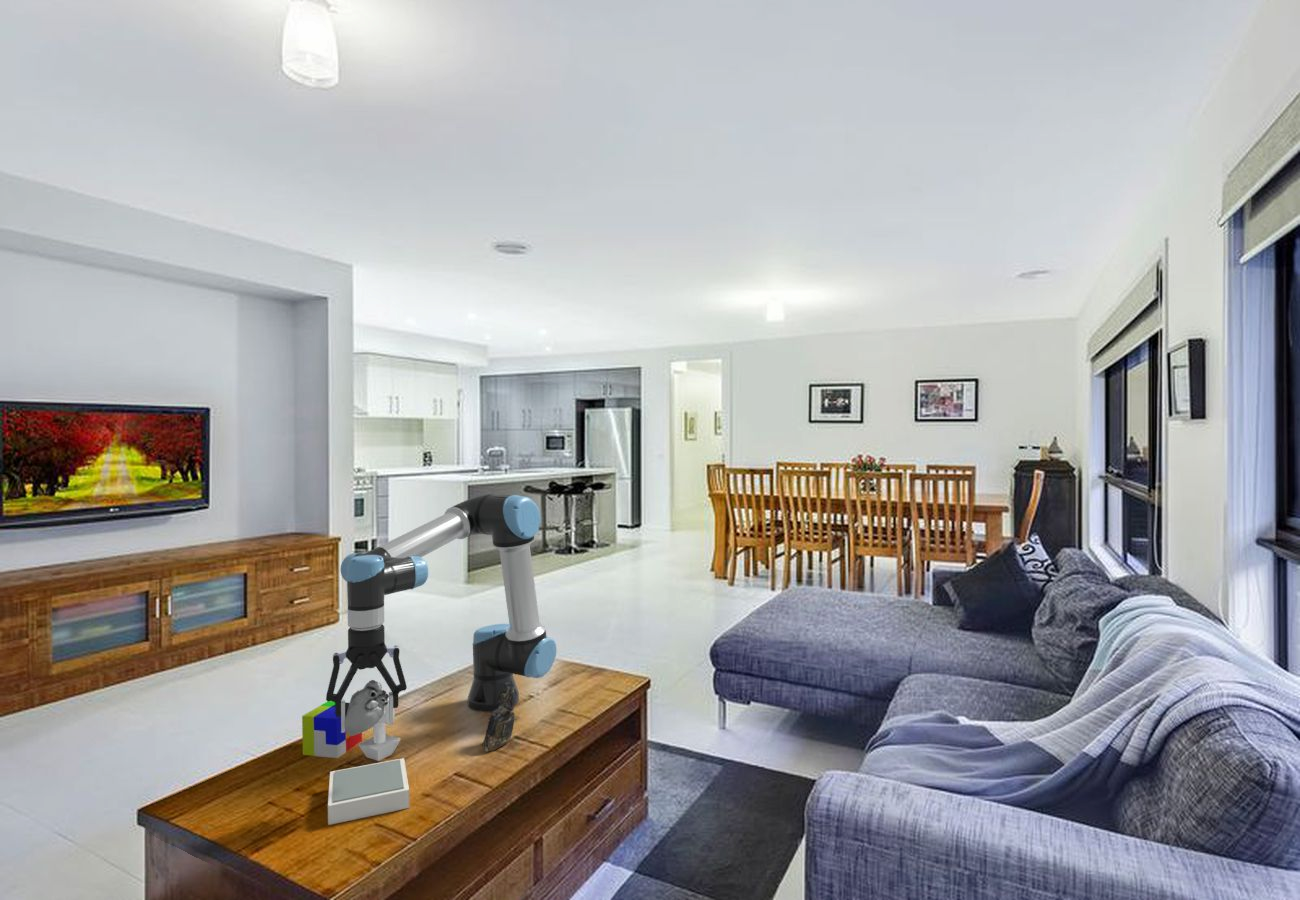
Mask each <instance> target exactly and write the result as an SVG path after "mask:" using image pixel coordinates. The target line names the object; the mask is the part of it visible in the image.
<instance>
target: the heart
mask: <svg viewBox="0 0 1300 900" xmlns="http://www.w3.org/2000/svg"><path fill="white" fill-rule="evenodd" d="M388 702H389V693H387V691H386V690H384V689H383V686H382V684H381V682H378V681H376V680H374V679H371V680H369V681H368V682H366V684H365V685H364V687H363V688H359V689H357V691H355V692H354V693H353V694H352V695H351V697H350V701H349V702H348V703H349V706H348V711H347V715H346V718H345V731H346V732H347V733H348V734H349V735H350V736H354V735H357V734H359V733H362V734H363V733H364V732H366V731H368V730H370V729H372V728H373V726H374V725H375V724H377V723H378V722H379V720H380V719H381V718H382V716H383V714H384V707H385V706H386V705H387V704H388ZM371 727H372V728H371Z"/></svg>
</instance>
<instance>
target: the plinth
mask: <svg viewBox="0 0 1300 900" xmlns="http://www.w3.org/2000/svg"><path fill="white" fill-rule="evenodd" d="M328 785H329V786H328V797H327V824H328V826H330V825H335V824H339V823H345V822H349V821H354V820H359V819H363V818H369V817H372V816H378V815H382V814H386V813H392V812H397V811H402V810H406V809H409V808H410V788H409V781H408V773H407V767H406V761H405V757H403V758H397V759H391V760H386V761H381V762H377V763H369V764H365V765H360V766H353V767H349V768H343V769H337V770H333V771H329V784H328Z"/></svg>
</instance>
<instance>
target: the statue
mask: <svg viewBox="0 0 1300 900" xmlns="http://www.w3.org/2000/svg"><path fill="white" fill-rule="evenodd" d="M514 689H515V688H514V684H513V683H508V682H506V683H505V684H504V687H503V690H501V692H500V694H499V697H498V699H497V702H496V706H499V707H498V708H497V709H495V710H493V711H492V712H490V714H489V717H488V721H487V722H488V723H487V727H486V731H485V736H484V739H483V741H482V746H483V750H484V751H485V752H491V751H495V750H497V749H500V747H503V746H504V745H506V744H507V743H508V742H509V741H510V740H511V737H512V735H513V730H514V723H515V713H514V712H513V711H514V709H515V705H514V703H515V693H514Z"/></svg>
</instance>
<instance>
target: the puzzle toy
mask: <svg viewBox="0 0 1300 900" xmlns="http://www.w3.org/2000/svg"><path fill="white" fill-rule="evenodd" d="M349 703H350V702H346V701H345V718H346V715H347V711H348V706H349ZM301 722H302V724H301V725H302V726H301V727H302V728H301V730H302V732H301V733H302V755H303V756H311V757H312V756H313V757H323V758H331V759H333V758H334V759H338V758H340V757H341V756H343V755H345V754H346V753H347V752H348V751H350V750H351V749H353V748H354V747H355V746H357V745H358V744H359V743H361V742H363V732H362V733H359V734H357V735H354V736H350V735H349V734H348V733H347V732H346V731H345V732H343V733H341V716H340V717H336V715H335V702H333V701H327V700H326V702H324V703H322V704H321V705H318V706H317V707H315V708H314V709H312V710H310V711H309V712H306V713H305V714H303V715H302V716H301Z"/></svg>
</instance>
